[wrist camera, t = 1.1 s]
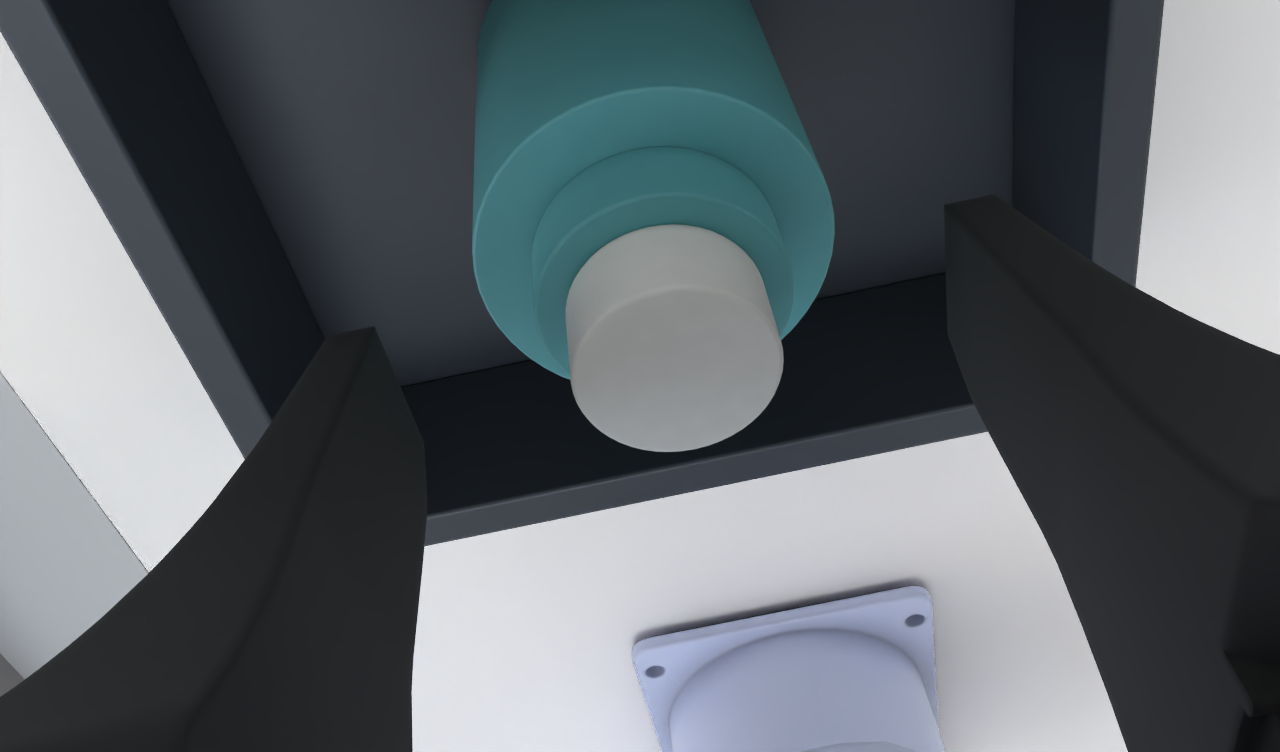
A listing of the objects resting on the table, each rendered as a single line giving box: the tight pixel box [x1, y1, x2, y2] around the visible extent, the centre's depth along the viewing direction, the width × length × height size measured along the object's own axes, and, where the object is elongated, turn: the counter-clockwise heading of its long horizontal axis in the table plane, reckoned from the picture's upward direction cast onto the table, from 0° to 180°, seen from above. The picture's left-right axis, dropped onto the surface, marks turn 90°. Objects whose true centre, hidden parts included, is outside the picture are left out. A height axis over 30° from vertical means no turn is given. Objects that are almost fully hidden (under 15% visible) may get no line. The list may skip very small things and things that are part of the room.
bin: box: [0, 0, 1164, 546], centre depth 20 cm, size 14×16×4 cm
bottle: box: [472, 0, 835, 452], centre depth 18 cm, size 5×5×9 cm
